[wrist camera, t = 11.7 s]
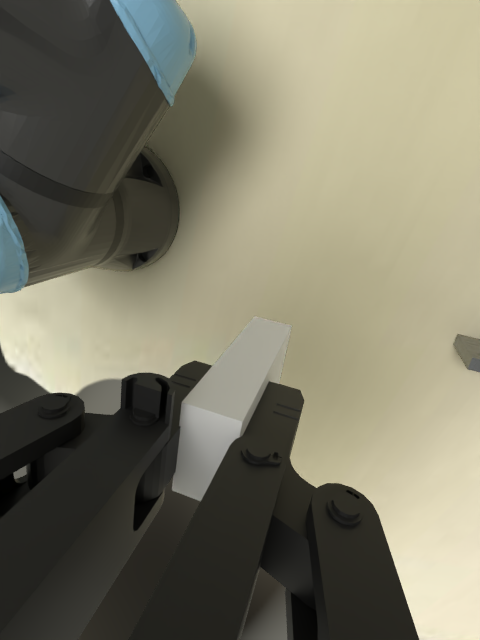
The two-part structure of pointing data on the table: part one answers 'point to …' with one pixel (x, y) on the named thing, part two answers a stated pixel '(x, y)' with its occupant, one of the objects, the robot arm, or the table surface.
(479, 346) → the bay
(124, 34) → the robot arm
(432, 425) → the table surface
